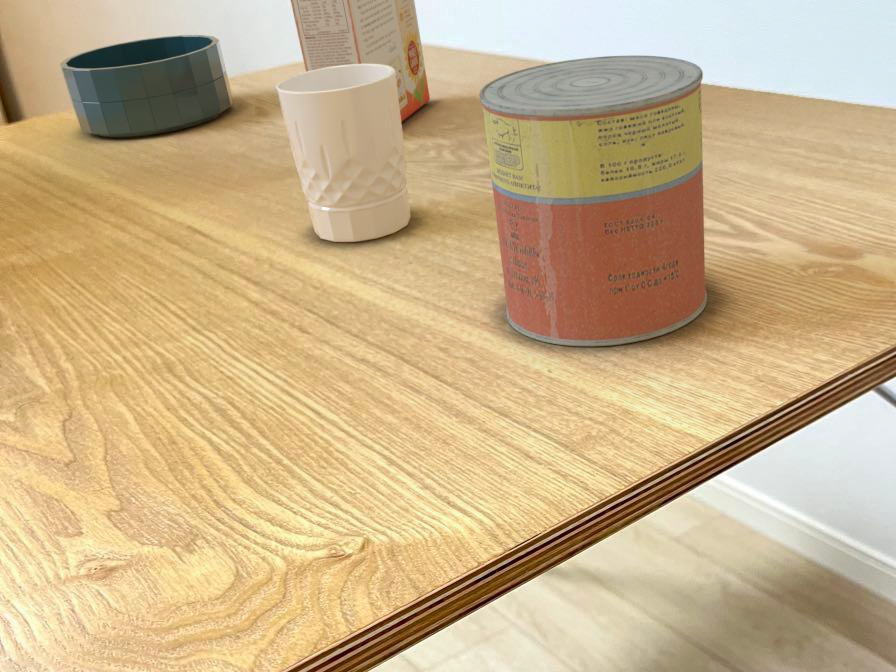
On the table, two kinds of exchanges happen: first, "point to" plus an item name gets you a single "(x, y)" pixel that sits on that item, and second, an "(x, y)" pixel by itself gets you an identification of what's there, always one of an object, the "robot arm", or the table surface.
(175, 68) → the bowl
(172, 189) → the table surface
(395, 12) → the cracker box
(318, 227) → the white cup
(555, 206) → the canned food
